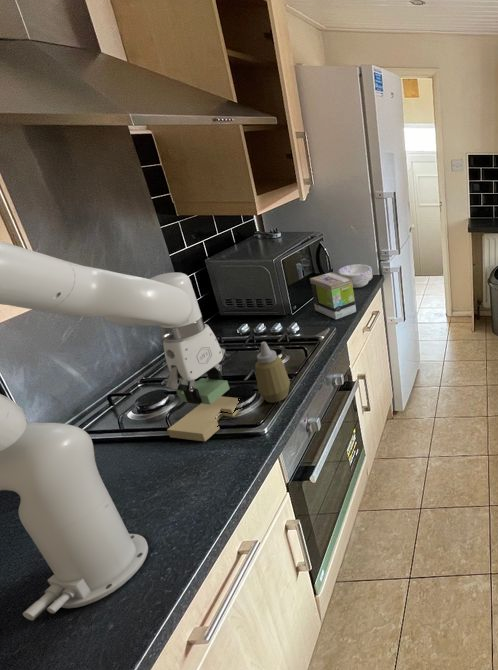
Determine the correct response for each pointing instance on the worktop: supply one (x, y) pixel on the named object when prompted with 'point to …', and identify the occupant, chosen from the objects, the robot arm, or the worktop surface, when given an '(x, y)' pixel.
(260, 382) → the squeeze bottle
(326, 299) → the tea box
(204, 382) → the green pad
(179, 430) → the beige pad
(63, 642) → the worktop surface
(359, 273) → the paper bowls
